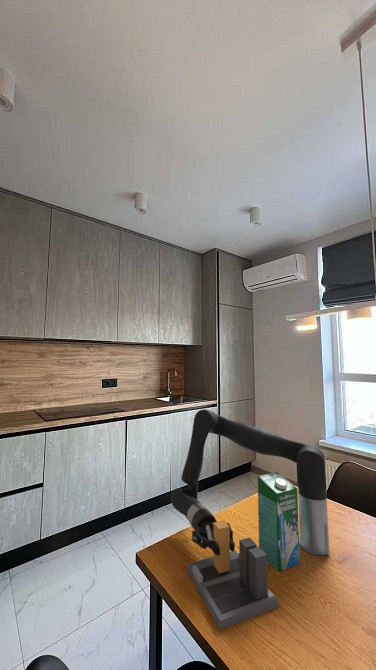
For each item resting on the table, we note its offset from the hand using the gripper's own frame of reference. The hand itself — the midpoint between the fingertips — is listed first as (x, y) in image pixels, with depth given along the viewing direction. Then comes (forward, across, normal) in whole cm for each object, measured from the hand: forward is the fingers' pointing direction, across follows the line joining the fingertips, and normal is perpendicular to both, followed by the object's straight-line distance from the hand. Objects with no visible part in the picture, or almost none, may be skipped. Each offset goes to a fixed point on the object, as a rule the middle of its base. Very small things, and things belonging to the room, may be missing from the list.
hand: (226, 549), depth 80 cm
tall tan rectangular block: (-3, 0, +7) cm, 7 cm away
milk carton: (-3, +21, +9) cm, 23 cm away
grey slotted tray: (+2, 0, +9) cm, 9 cm away
